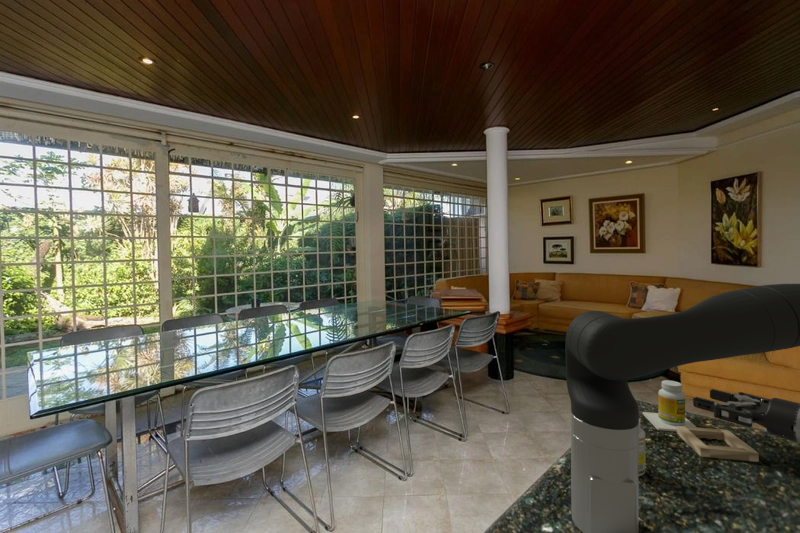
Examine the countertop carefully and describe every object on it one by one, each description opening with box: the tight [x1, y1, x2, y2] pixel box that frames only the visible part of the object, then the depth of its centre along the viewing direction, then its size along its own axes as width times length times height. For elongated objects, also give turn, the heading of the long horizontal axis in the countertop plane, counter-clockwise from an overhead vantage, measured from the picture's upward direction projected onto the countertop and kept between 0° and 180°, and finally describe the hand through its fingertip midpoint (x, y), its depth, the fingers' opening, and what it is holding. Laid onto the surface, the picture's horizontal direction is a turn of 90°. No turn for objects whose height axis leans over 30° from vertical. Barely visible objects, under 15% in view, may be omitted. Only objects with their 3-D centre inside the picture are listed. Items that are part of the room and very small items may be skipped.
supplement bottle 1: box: [639, 418, 646, 477], centre depth 72 cm, size 6×6×10 cm
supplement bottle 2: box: [657, 379, 686, 426], centre depth 91 cm, size 5×5×10 cm
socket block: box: [676, 426, 760, 463], centre depth 80 cm, size 10×10×2 cm
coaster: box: [642, 411, 697, 433], centre depth 91 cm, size 9×9×1 cm
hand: (702, 397), depth 85 cm, fingers open, 8 cm apart
